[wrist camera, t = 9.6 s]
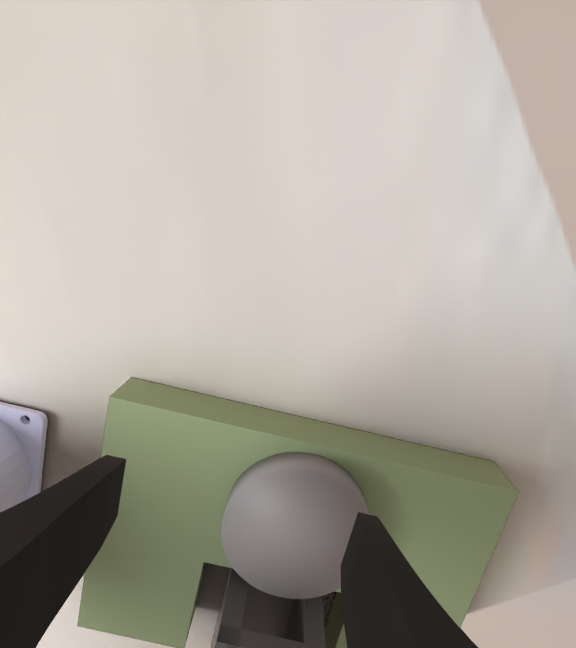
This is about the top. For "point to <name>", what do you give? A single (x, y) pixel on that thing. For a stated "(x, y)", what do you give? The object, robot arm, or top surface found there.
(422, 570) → the notched green slab
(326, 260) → the top surface
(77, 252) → the top surface
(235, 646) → the chute
